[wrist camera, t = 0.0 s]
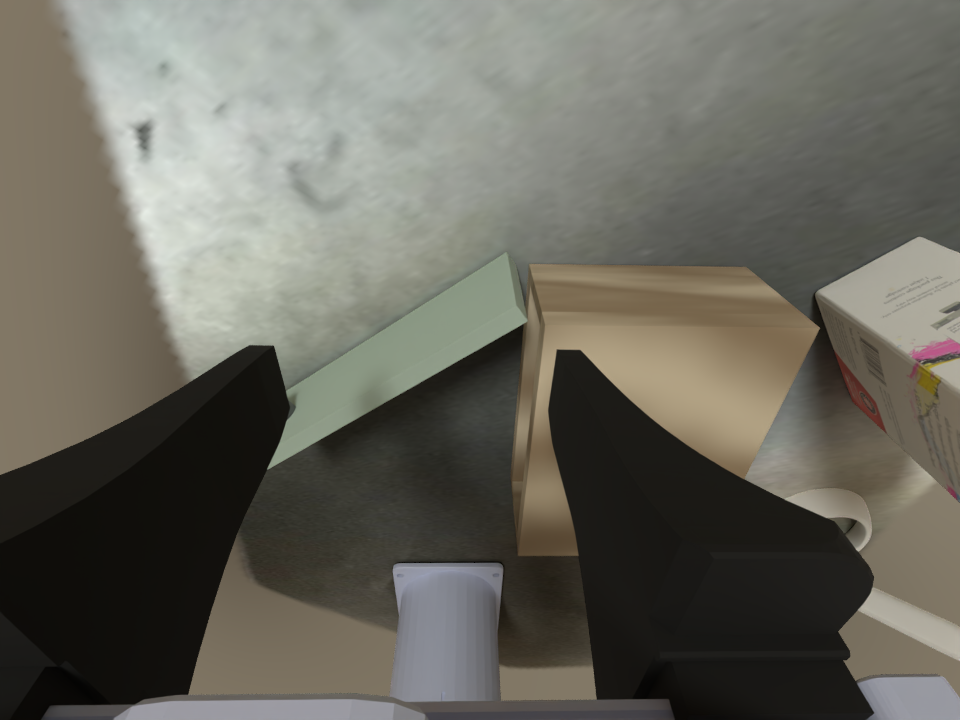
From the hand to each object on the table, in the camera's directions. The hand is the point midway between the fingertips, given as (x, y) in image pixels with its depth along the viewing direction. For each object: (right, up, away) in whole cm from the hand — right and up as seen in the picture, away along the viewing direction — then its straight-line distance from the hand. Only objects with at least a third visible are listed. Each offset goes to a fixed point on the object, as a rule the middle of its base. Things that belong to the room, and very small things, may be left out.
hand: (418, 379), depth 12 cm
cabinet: (+9, -1, +13) cm, 16 cm away
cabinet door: (-3, +2, +10) cm, 11 cm away
